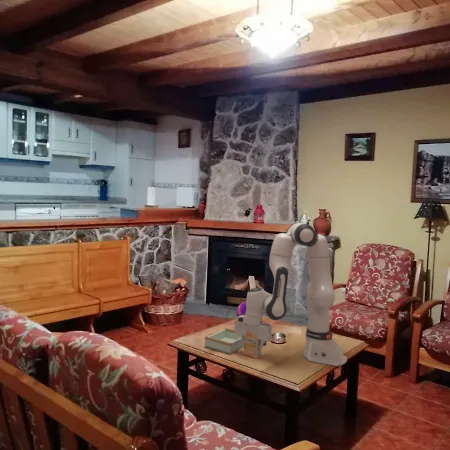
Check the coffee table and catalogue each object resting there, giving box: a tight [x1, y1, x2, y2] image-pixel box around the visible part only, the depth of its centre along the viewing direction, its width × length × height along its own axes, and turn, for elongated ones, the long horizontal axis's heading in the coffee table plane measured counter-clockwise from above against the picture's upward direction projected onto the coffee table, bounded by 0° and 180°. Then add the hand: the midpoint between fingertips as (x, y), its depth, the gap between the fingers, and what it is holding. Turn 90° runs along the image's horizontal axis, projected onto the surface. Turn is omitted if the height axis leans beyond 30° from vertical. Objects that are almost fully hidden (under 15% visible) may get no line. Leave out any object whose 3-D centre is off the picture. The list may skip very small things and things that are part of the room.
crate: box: [204, 327, 244, 356], centre depth 241 cm, size 16×20×6 cm
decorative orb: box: [236, 300, 247, 318], centre depth 280 cm, size 15×15×15 cm
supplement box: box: [243, 331, 262, 359], centre depth 228 cm, size 8×5×13 cm, turn 53°
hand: (252, 346), depth 228 cm, fingers closed on supplement box, 8 cm apart
